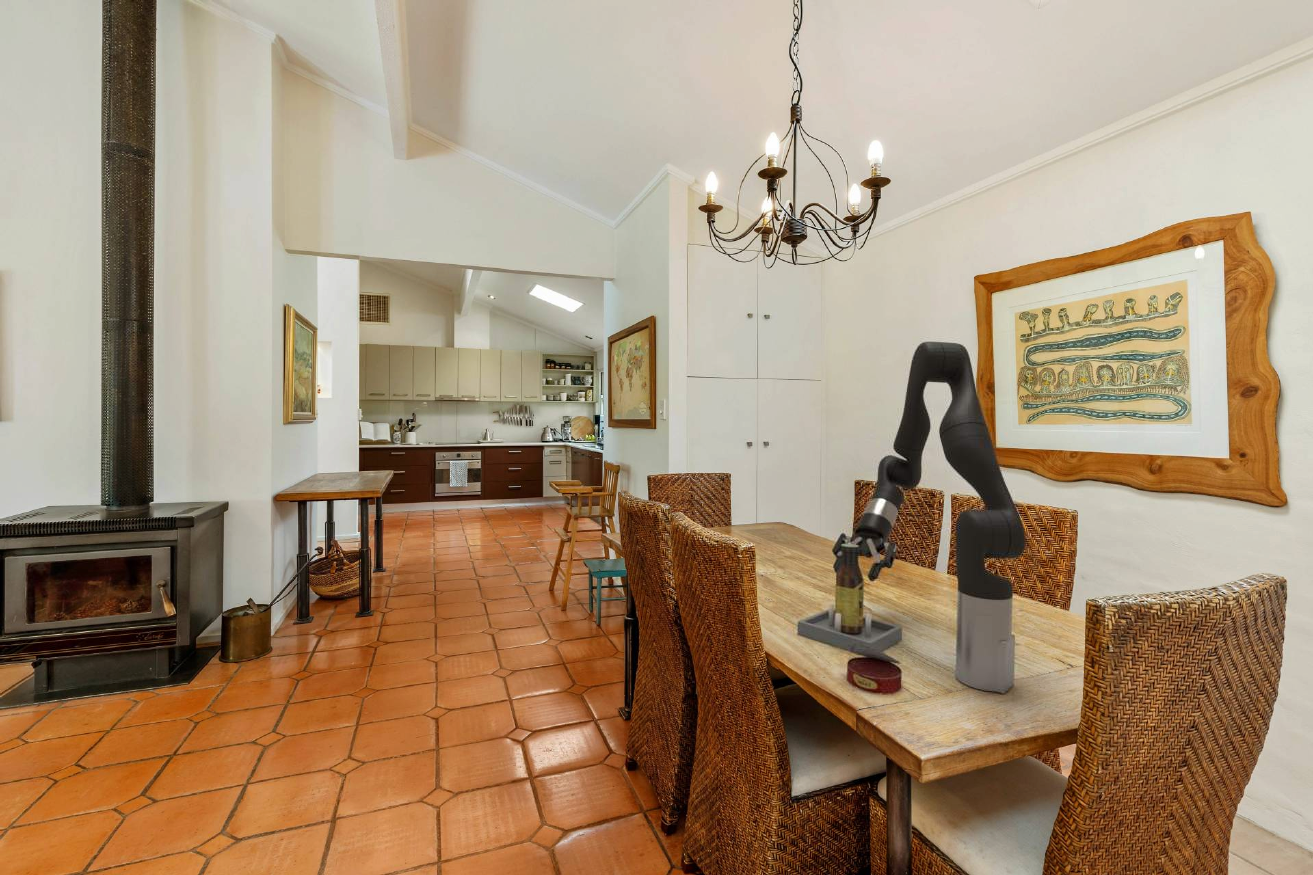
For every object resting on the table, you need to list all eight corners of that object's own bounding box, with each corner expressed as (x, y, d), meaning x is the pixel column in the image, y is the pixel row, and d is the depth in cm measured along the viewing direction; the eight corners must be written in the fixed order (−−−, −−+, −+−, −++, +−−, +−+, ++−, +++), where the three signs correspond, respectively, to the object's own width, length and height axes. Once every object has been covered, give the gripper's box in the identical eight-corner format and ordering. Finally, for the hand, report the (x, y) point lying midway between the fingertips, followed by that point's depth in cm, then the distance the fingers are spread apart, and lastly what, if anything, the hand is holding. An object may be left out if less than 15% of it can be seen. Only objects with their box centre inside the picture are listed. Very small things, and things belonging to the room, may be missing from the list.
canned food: (844, 701, 113) (829, 647, 117) (891, 691, 115) (874, 639, 119) (871, 698, 103) (853, 640, 107) (921, 688, 105) (902, 631, 109)
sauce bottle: (864, 636, 131) (866, 549, 130) (836, 633, 132) (837, 547, 132) (860, 626, 137) (862, 543, 137) (833, 624, 139) (835, 541, 138)
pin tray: (901, 639, 133) (902, 611, 133) (870, 657, 123) (870, 627, 123) (831, 619, 146) (831, 594, 146) (797, 633, 136) (798, 606, 136)
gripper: (845, 508, 146) (820, 560, 138) (901, 515, 136) (877, 572, 128) (855, 526, 150) (831, 578, 142) (910, 535, 139) (887, 591, 132)
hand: (853, 575), depth 135 cm, fingers open, 8 cm apart
